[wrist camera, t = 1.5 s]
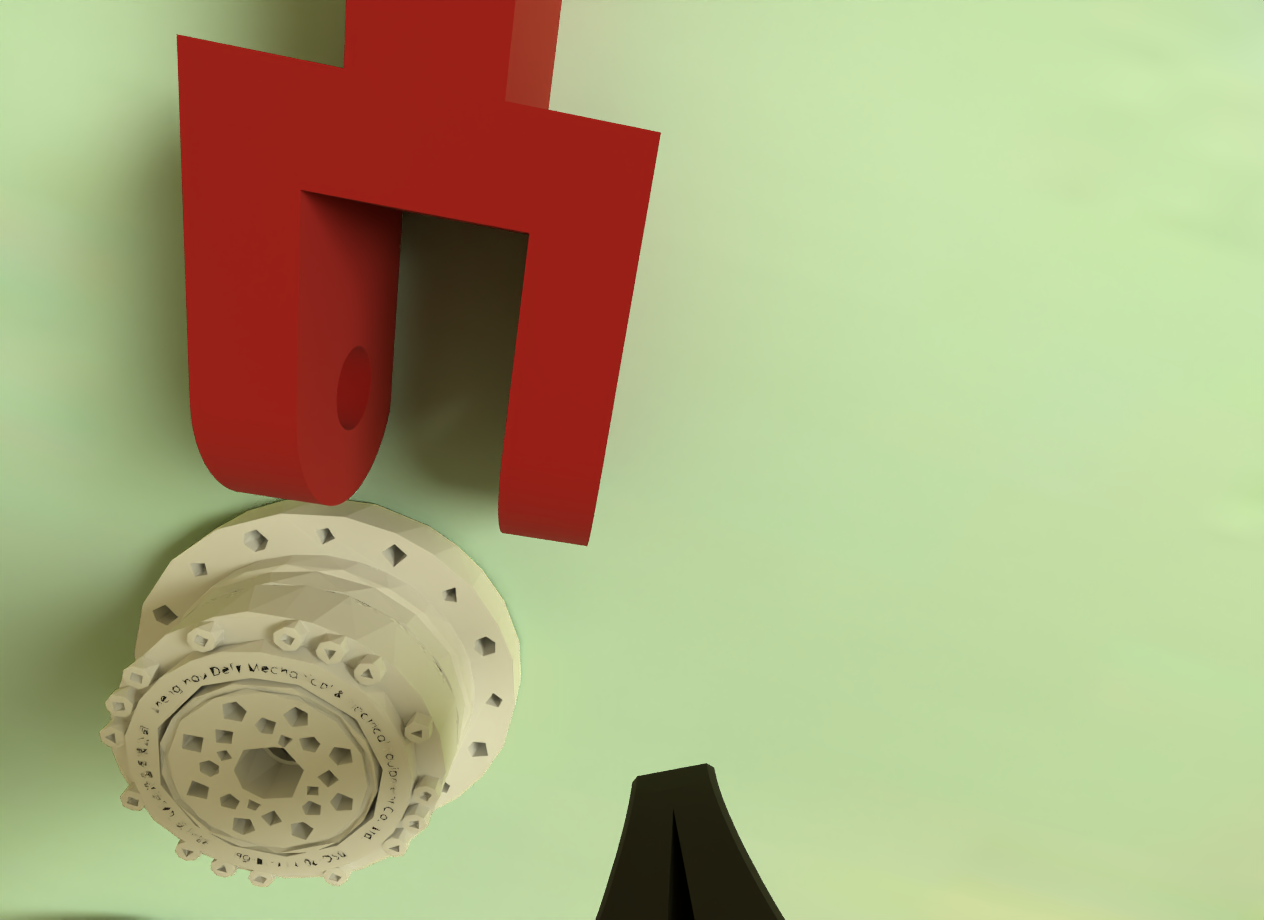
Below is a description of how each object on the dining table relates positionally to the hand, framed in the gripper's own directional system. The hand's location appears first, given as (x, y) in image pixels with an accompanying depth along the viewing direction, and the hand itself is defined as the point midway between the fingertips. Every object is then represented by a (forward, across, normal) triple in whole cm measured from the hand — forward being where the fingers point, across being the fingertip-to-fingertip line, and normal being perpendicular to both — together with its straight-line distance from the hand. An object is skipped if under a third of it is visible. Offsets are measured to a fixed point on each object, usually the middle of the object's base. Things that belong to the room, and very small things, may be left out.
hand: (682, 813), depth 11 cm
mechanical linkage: (+8, +1, -12) cm, 14 cm away
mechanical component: (+7, +9, 0) cm, 12 cm away
